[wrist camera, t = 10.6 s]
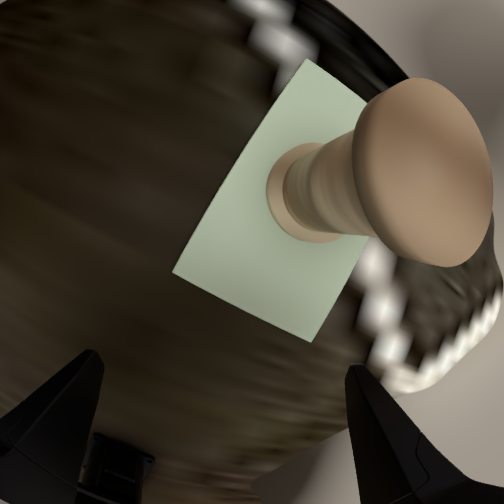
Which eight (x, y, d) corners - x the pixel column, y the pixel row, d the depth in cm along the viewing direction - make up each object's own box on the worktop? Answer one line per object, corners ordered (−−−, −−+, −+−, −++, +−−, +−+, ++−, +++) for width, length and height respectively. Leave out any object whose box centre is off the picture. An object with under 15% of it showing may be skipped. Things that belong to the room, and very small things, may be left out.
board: (305, 337, 23) (311, 342, 22) (173, 269, 20) (172, 272, 19) (401, 144, 24) (409, 142, 22) (301, 64, 21) (306, 58, 20)
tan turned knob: (347, 248, 22) (485, 274, 9) (258, 234, 20) (366, 253, 8) (357, 159, 21) (489, 123, 9) (273, 136, 20) (377, 47, 7)
